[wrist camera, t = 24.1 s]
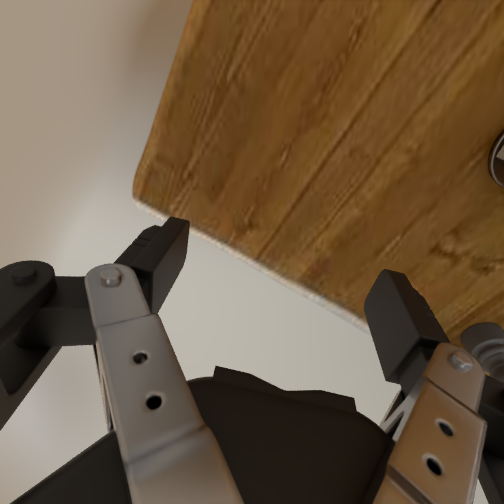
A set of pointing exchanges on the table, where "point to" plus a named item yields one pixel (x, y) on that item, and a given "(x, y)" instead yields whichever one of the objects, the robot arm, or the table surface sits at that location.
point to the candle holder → (486, 347)
